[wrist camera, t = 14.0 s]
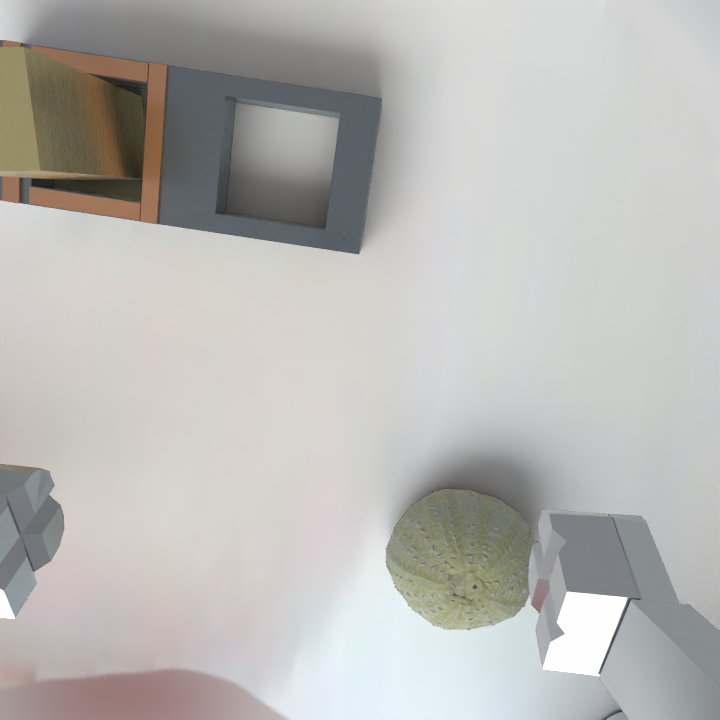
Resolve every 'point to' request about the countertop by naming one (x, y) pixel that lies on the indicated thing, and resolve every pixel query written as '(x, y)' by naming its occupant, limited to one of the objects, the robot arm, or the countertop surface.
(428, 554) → the sea urchin shell
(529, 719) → the countertop surface
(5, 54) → the brass block
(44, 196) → the grey slotted board
